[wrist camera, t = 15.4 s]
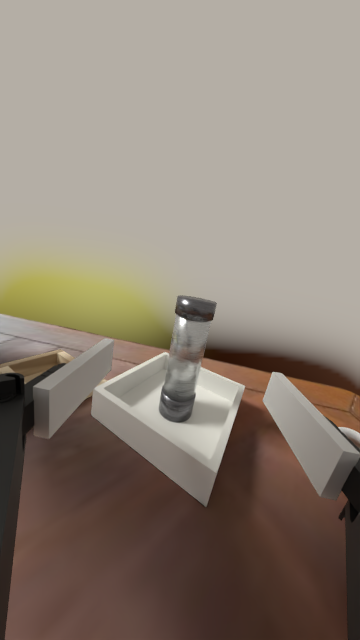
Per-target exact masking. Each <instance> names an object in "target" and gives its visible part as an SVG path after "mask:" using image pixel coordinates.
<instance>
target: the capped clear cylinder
mask: <svg viewBox="0 0 360 640" xmlns="http://www.w3.org/2000/svg"><path fill="white" fill-rule="evenodd" d="M216 304H217V303H216V302H213V301H210V300H205V299H201V298H196V297H190V296H178V298H177V303H176V309H175V313H176V318H175V324H174V330H173V336H172V341H171V347H170V353H169V359H168V364H167V370H166V376H165V382H164V385H163V387H162V391H161V396H160V402H159V412H160V414H161V415H162V416H163V417H164V418H165V419H166V420H168V421H171V422H175V423H181V422H185V421H187V420H188V419H189V418H190V417H191V414H192V410H193V405H194V401H195V396H196V393H195V390H196V385H197V381H198V376H199V372H200V368H201V363H202V359H203V354H204V350H205V345H206V341H207V336H208V331H209V328H210V323H211V321H212V320H213V317H214V313H215V308H216Z"/></svg>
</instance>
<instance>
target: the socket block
mask: <svg viewBox="0 0 360 640" xmlns="http://www.w3.org/2000/svg"><path fill="white" fill-rule="evenodd" d="M73 359H75V358H74V357H72V356H70V355H69V354H67V353H66V352H64V351H62V350H61V349H59V350H55V351H51V352H47V353H43V354H39V355H35V356H31V357H27V358H23V359H19V360H15V361H11V362H7V363H3V364H0V374H4V373H20V374H22V375H23V376H24V384H26V383H27V382H29V381H31V380H32V379H34V378H35V377H37V376H40V374H42V373H43V372H46V371H47V370H48V369H50V368H51V367H53V366H55V365H58V364H61V363H66V364H67V363H69V362H70V361H72V360H73ZM105 382H107V381H106V380H105V379H103V380H102V381H101V382H100V383H99V384H98V385H97V386H99V385H101V384H103V383H105ZM97 386H96V387H97ZM91 396H93V391H92V392H91V393H90V394H89V395H88V396H87V397H86V399H87V398H89V397H91ZM32 428H34V426H33V427H32ZM32 428H31V429H32Z"/></svg>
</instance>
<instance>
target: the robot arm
mask: <svg viewBox="0 0 360 640" xmlns="http://www.w3.org/2000/svg"><path fill="white" fill-rule="evenodd" d="M113 346H114V340H111V339H106V338H105V339H103V340H102V341H100V342H99V343H97V344H96V345H94V346H93V347H91V348H90V349H88V350H87V351H85V352H84V353H82V354H81V355H79V356H78V357H76V358H75V359H73V360H72V361H70V362H69V363H67V364H66V363H61V364H58V365H55V366H53V367H51V368H50V369H48V370H47V371H46V372H43V373H42V374H40V376H37V377H35V378H34V379H32V380H31V381H29V382H27V383H26V384H24V376H23V375H22V374H20V373H4V374H0V640H5V630H6V621H7V612H8V602H9V593H10V584H11V574H12V565H13V556H14V546H15V537H16V528H17V518H18V509H19V500H20V490H21V481H22V472H23V462H24V453H25V444H26V433H27V432H28V431H29V430H30V429H31V428H32V427H33V426H34V436H36V437H41V438H45V439H50V438H51V437H52V435H53V434H54V433H55V432H56V431H57V430H58V429H59V428H60V426H61V425H62V424H63V423H64V422H65V421H66V420H67V419H68V418H69V416H70V415H71V414H72V413H73V412H74V411H75V410H76V409H77V407H78V406H79V405H80V404H81V403H82V402H83V401H84V400H85V399H86V397H87V396H88V395H89V394H90V393H91V392H92V391H93V390H94V388H95V387H96V386H97V385H98V384H99V383H100V382H101V381H102V380H103V378H104V377H105V376H106V375H107V374H108V373H109V372H110V371H111V366H112V356H113ZM263 402H264V404H265V405H266V407H267V409H268V410H269V412H270V414H271V416H272V417H273V419H274V421H275V422H276V424H277V426H278V427H279V429H280V431H281V432H282V434H283V436H284V437H285V439H286V441H287V442H288V444H289V446H290V447H291V449H292V451H293V453H294V454H295V456H296V458H297V459H298V461H299V463H300V464H301V466H302V468H303V469H304V471H305V473H306V474H307V476H308V478H309V479H310V481H311V483H312V484H313V486H314V488H315V489H316V491H317V493H318V495H319V496H320V497H323V498H328V499H332V500H337V498H338V496H339V494H340V492H341V491H343V493H344V494H345V496H346V497H347V498H348V501H347V503H346V505H345V506H344V508H343V510H342V512H341V513H340V515H339V519H340V520H341V521H342V519H343V517H345V523H346V572H347V621H348V640H360V449H359V448H358V447H357V446H356V445H355V444H354V443H353V442H352V441H351V440H350V439H349V438H347V436H346V435H345V434H344V433H343V432H341V430H340V429H339V428H338V427H337V426H336V425H335V424H334V423H333V422H332V421H330V420H329V419H328V418H326V417H325V416H324V415H322V414H321V413H320V412H319V411H318V410H317V409H316V408H315V407H314V406H313V405H312V404H311V403H310V402H309V401H308V400H307V399H306V397H305V396H304V395H303V394H302V393H301V392H300V391H299V390H298V389H297V388H296V387H295V386H294V385H293V384H292V383H291V382H290V381H289V380H288V379H287V378H286V377H285V376H284V375H283V374H282V373H276V372H272V375H271V378H270V381H269V384H268V387H267V390H266V393H265V395H264V398H263Z"/></svg>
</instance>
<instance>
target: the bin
mask: <svg viewBox="0 0 360 640" xmlns="http://www.w3.org/2000/svg"><path fill="white" fill-rule="evenodd" d="M168 359H169V353H166V352H164V353H162V354H160V355H158V356H156V357H154V358H152V359H150V360H148V361H146V362H144V363H142V364H140V365H138V366H136V367H134V368H132V369H130V370H128V371H126V372H124V373H122V374H120V375H118V376H116V377H115V378H113V379H111V380H109V381H107V382H105V383H103V384H101V385H99V386H97V387H95V388H94V390H93V397H92V410H91V416H93V417H94V418H95V419H96V420H98V421H99V422H100V423H101V424H103V425H104V426H105V427H106V428H108V429H109V430H110V431H111V432H113V433H114V434H115V435H116V436H118V437H119V438H120V439H121V440H123V441H124V442H125V443H126V444H128V445H129V446H130V447H131V448H133V449H134V450H135V451H136V452H138V453H139V454H140V455H141V456H143V457H144V458H145V459H146V460H148V461H149V462H150V463H151V464H153V465H154V466H155V467H156V468H158V469H159V470H160V471H161V472H163V473H164V474H165V475H166V476H168V477H169V478H170V479H171V480H173V481H174V482H175V483H176V484H178V485H179V486H180V487H181V488H183V489H184V490H185V491H186V492H188V493H189V494H190V495H191V496H193V497H194V498H195V499H196V500H198V501H199V502H200V503H201V504H203V505H204V506H205V507H207V504H208V500H209V497H210V494H211V491H212V488H213V485H214V482H215V479H216V476H217V473H218V469H219V466H220V463H221V460H222V457H223V454H224V451H225V448H226V445H227V442H228V438H229V435H230V432H231V429H232V426H233V423H234V420H235V417H236V414H237V410H238V407H239V404H240V401H241V398H242V395H243V391H244V388H245V386H244V385H241V384H239V383H237V382H234V381H232V380H230V379H227V378H225V377H223V376H220V375H218V374H216V373H213V372H211V371H209V370H206V369H204V368H202V367H201V368H200V372H199V376H198V381H197V385H196V390H195V393H196V396H195V401H194V405H193V410H192V414H191V417H190V418H189V419H188V420H187V421H185V422H181V423H175V422H171V421H168V420H166V419H165V418H164V417H163V416H162V415H161V414H160V412H159V402H160V396H161V391H162V387H163V385H164V382H165V376H166V370H167V364H168Z"/></svg>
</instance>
